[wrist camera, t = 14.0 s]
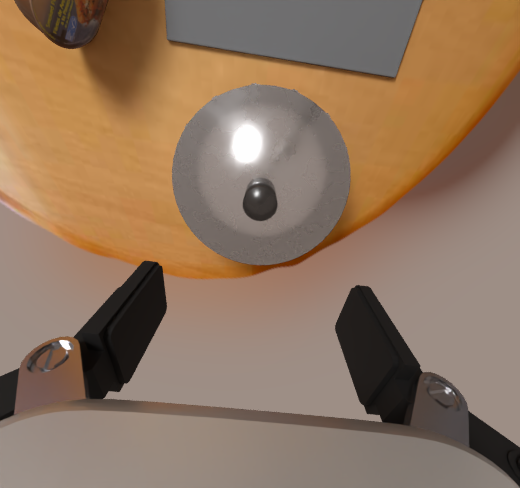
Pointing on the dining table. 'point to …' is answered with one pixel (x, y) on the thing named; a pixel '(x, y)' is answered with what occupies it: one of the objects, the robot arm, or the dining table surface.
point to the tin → (65, 19)
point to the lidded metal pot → (261, 174)
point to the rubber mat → (301, 30)
